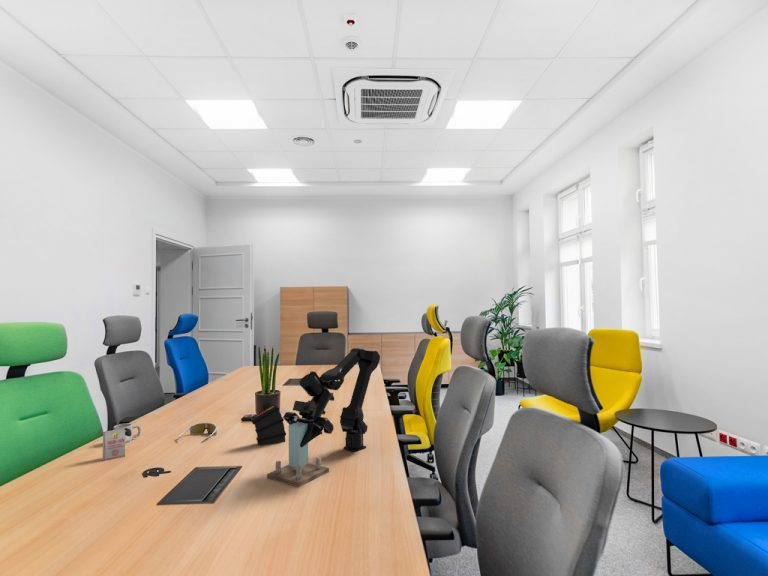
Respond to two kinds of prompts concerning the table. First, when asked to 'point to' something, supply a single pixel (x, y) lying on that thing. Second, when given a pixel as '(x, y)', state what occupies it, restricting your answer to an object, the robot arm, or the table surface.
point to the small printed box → (113, 444)
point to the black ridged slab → (269, 426)
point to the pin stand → (298, 473)
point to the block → (297, 445)
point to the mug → (128, 431)
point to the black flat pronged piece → (154, 472)
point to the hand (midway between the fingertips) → (295, 445)
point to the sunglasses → (202, 429)
